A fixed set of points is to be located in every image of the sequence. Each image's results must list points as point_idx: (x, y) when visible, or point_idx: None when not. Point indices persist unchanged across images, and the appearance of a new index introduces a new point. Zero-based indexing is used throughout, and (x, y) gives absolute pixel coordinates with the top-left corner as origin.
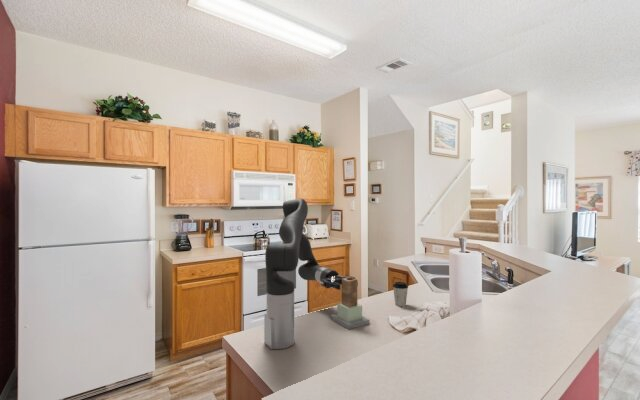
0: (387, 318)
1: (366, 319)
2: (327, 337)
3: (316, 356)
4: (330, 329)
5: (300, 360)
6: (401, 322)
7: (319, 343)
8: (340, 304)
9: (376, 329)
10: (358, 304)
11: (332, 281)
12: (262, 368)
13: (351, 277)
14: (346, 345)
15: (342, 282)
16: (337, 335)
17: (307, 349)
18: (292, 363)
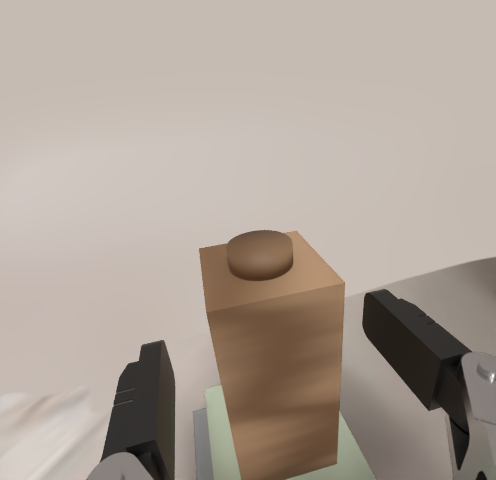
0: (60, 467)
1: (204, 418)
2: None
3: (429, 274)
4: (408, 408)
5: (467, 267)
6: (62, 401)
7: (436, 317)
8: (350, 452)
9: (205, 365)
10: (215, 414)
11: (489, 362)
12: None
13: (242, 239)
14: (345, 299)
15: (336, 308)
16: (372, 351)
17: (467, 297)
18: (484, 262)
